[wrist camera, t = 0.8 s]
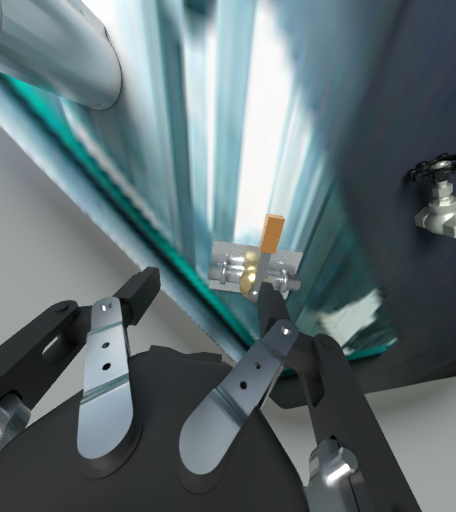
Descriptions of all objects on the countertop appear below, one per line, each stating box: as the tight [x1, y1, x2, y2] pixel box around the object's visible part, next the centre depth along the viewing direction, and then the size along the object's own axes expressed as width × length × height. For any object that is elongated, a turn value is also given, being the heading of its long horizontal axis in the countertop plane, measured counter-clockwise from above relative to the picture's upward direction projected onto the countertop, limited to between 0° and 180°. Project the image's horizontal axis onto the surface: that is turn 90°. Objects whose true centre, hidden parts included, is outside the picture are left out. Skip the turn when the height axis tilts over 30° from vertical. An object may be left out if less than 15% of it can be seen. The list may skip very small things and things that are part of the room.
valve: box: [407, 153, 456, 238], centre depth 26 cm, size 7×7×12 cm
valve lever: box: [248, 214, 285, 303], centre depth 27 cm, size 15×2×2 cm, turn 173°
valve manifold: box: [208, 238, 303, 299], centre depth 34 cm, size 12×18×8 cm, turn 83°
